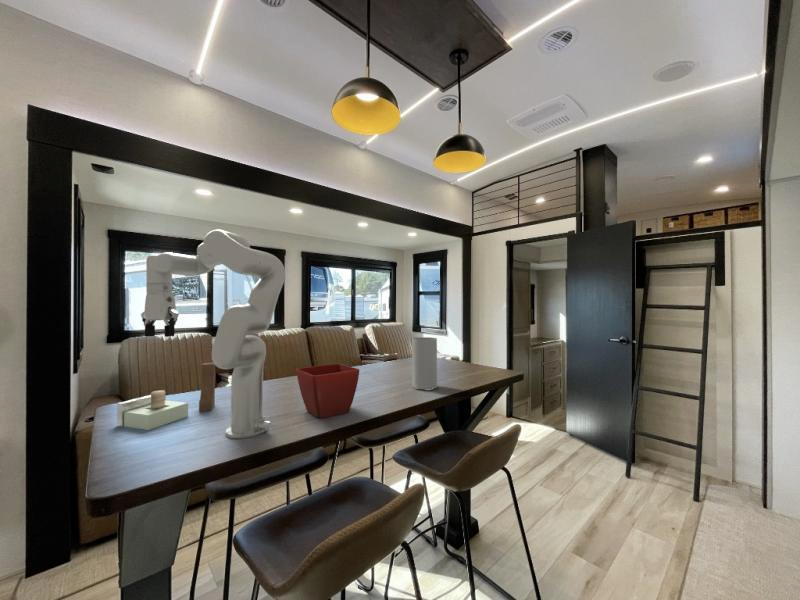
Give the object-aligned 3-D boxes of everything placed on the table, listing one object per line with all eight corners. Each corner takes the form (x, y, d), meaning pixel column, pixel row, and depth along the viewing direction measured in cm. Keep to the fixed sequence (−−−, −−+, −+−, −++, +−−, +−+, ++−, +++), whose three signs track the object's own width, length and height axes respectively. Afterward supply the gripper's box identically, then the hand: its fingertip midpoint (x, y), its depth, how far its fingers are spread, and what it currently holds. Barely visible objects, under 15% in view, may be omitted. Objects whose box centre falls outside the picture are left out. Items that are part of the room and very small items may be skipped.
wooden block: (211, 411, 129) (212, 365, 129) (198, 412, 127) (199, 366, 127) (214, 405, 137) (215, 362, 138) (202, 406, 135) (202, 363, 136)
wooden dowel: (167, 418, 118) (167, 390, 118) (156, 422, 114) (156, 393, 115) (159, 417, 119) (159, 390, 120) (147, 420, 116) (148, 392, 116)
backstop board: (165, 413, 126) (165, 392, 126) (122, 427, 112) (122, 403, 112) (160, 413, 127) (160, 392, 127) (117, 426, 113) (117, 403, 113)
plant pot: (295, 410, 130) (295, 368, 130) (338, 401, 141) (338, 362, 141) (313, 423, 114) (313, 375, 115) (360, 413, 126) (360, 369, 126)
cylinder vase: (438, 390, 159) (438, 339, 159) (413, 390, 159) (412, 339, 159) (435, 384, 171) (435, 337, 172) (411, 384, 171) (411, 337, 172)
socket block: (188, 416, 122) (188, 402, 122) (148, 430, 108) (148, 415, 109) (165, 413, 126) (165, 400, 126) (124, 426, 112) (124, 411, 112)
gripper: (186, 288, 119) (187, 335, 119) (152, 290, 124) (153, 335, 124) (166, 287, 112) (166, 337, 111) (131, 289, 117) (131, 337, 117)
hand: (159, 336), depth 118 cm, fingers open, 9 cm apart
